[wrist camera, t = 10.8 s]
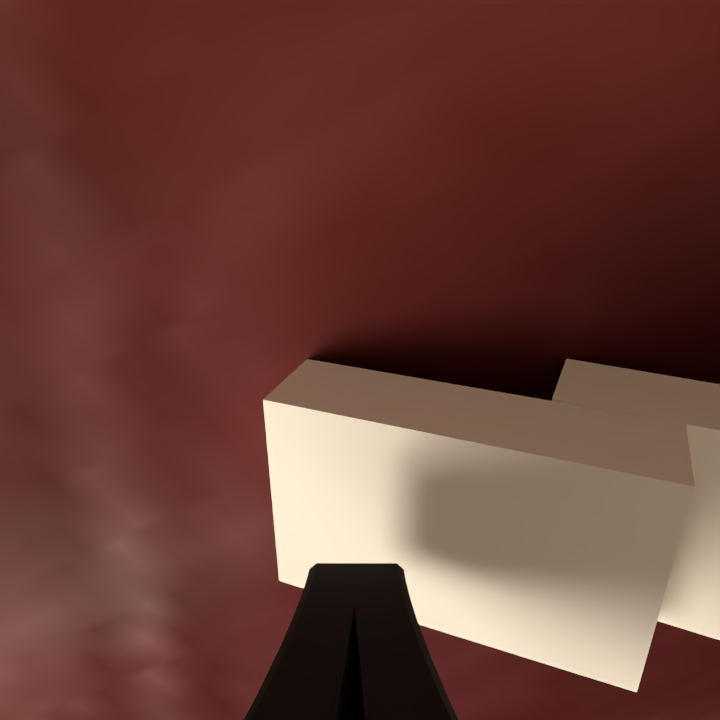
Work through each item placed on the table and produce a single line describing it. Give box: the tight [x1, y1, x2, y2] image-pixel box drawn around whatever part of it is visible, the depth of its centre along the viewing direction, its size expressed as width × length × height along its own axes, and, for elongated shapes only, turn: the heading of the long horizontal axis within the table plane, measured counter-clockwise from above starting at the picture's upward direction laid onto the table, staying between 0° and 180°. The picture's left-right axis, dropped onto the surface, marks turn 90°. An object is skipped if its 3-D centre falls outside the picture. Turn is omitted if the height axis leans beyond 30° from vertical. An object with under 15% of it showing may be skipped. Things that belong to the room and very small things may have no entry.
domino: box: [263, 359, 695, 692], centre depth 12 cm, size 2×4×7 cm
